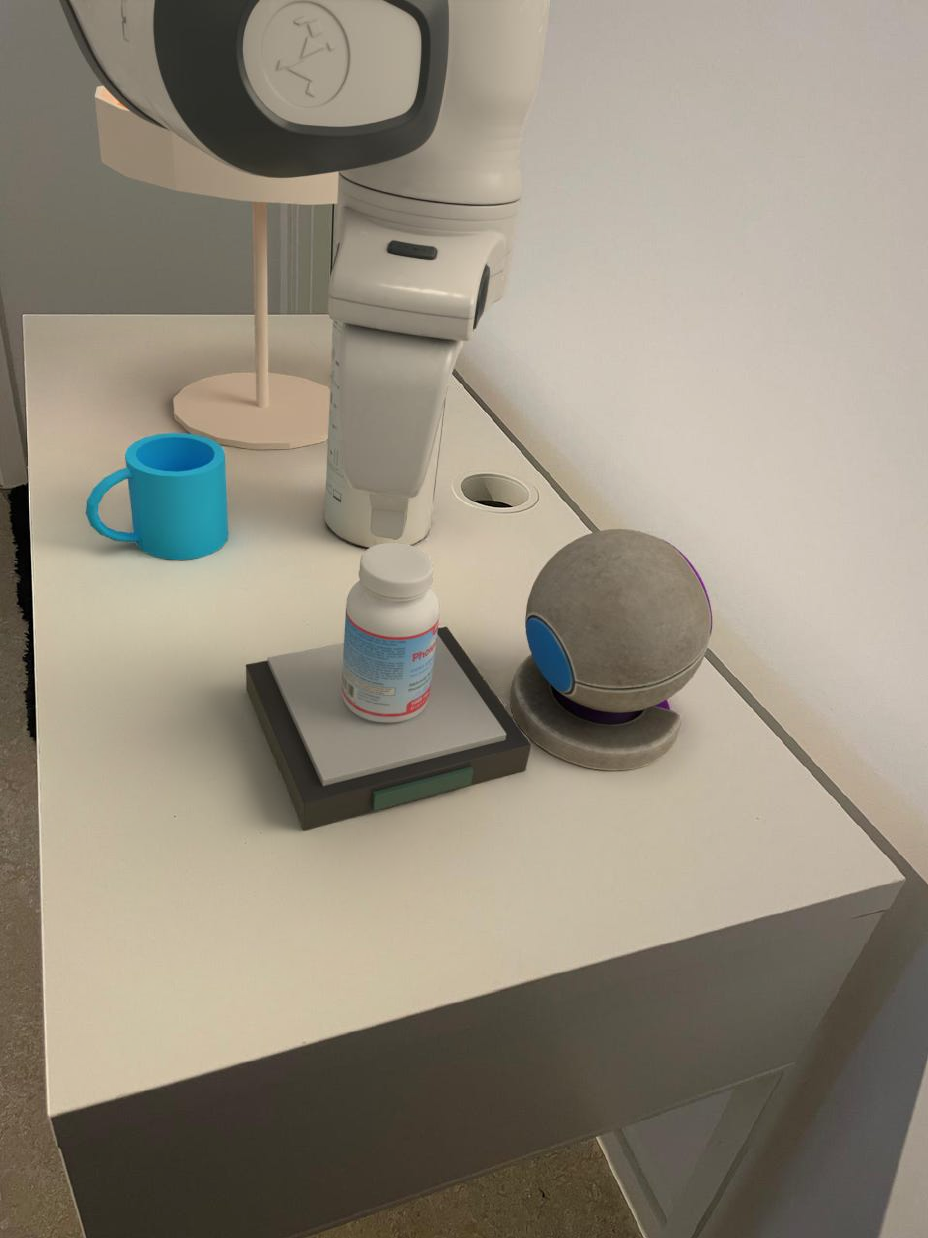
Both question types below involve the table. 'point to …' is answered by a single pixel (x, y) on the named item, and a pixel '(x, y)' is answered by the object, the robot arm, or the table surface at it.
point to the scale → (379, 735)
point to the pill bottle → (390, 634)
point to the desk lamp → (254, 401)
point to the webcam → (610, 649)
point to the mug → (170, 496)
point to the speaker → (353, 507)
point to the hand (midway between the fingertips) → (399, 491)
